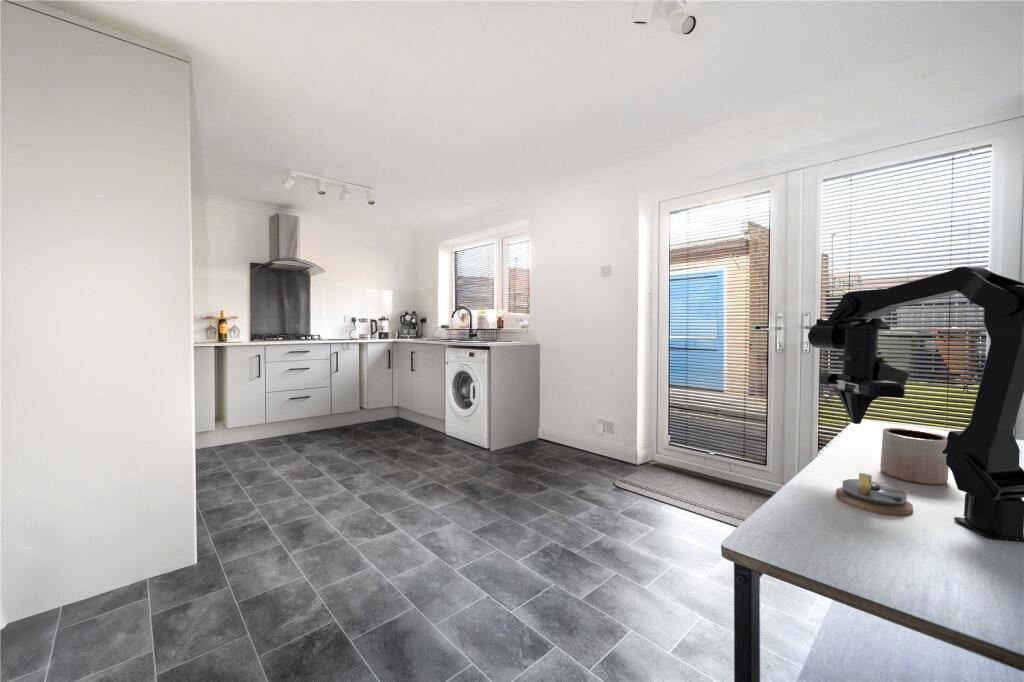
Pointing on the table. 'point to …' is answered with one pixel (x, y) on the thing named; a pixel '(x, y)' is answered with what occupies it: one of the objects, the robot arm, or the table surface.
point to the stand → (875, 505)
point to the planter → (914, 456)
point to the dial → (874, 491)
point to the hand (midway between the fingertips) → (856, 423)
